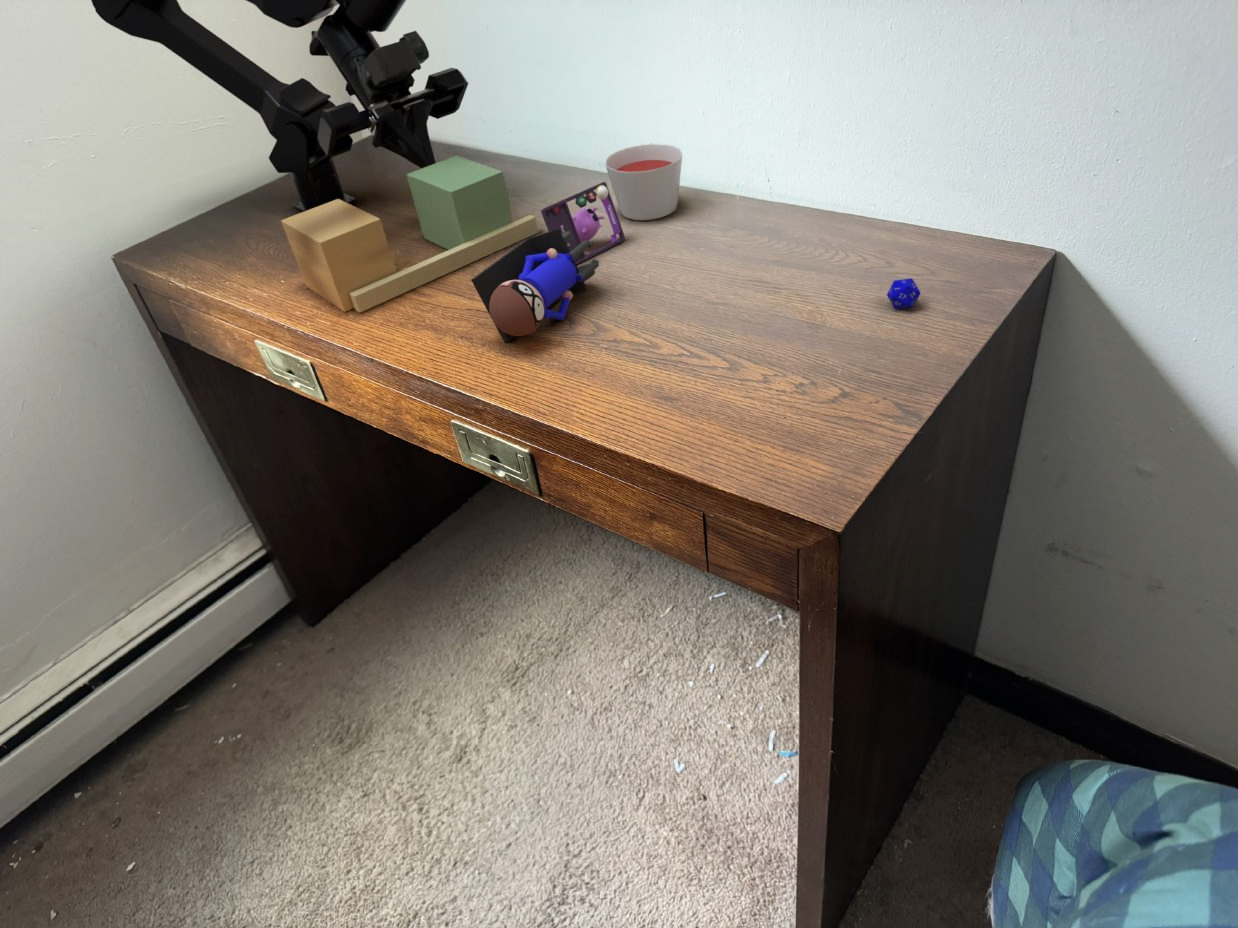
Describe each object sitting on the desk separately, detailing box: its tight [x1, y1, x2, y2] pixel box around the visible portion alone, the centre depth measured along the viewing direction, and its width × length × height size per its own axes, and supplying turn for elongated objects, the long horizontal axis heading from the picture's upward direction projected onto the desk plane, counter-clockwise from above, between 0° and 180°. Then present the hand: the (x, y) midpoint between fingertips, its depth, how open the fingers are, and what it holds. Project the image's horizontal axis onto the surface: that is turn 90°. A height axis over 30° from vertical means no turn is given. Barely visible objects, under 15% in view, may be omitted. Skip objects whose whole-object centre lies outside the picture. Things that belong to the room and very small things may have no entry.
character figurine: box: [470, 229, 600, 343], centre depth 84 cm, size 8×7×15 cm
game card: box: [540, 181, 626, 265], centre depth 97 cm, size 7×5×9 cm
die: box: [886, 277, 921, 310], centre depth 79 cm, size 3×3×3 cm
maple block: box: [280, 199, 397, 313], centre depth 95 cm, size 10×7×8 cm
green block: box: [406, 155, 514, 251], centre depth 102 cm, size 10×7×8 cm
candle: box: [604, 143, 683, 221], centre depth 103 cm, size 9×9×6 cm
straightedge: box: [350, 214, 539, 314], centre depth 98 cm, size 1×24×2 cm, turn 131°
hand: (433, 170), depth 103 cm, fingers closed, pressing on green block
